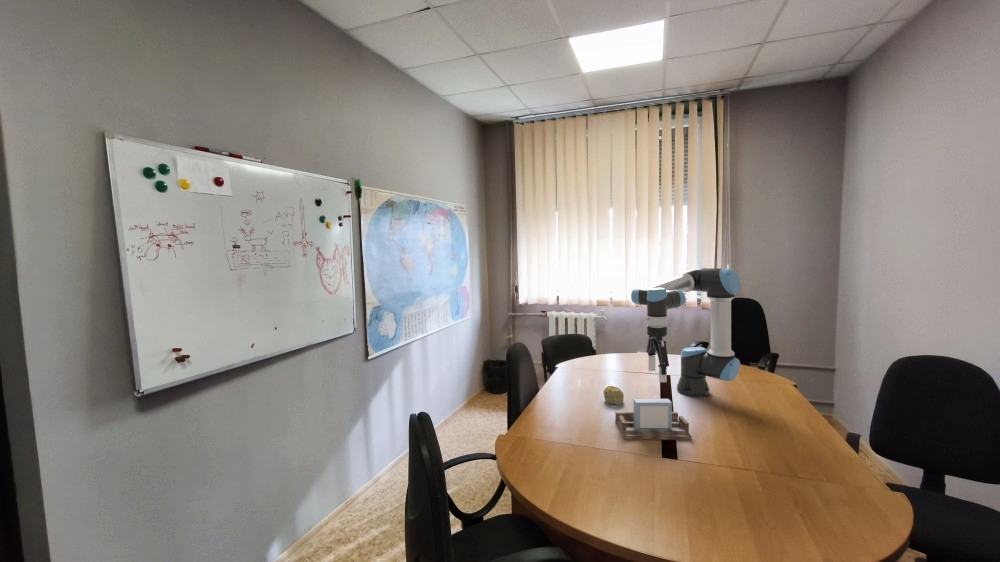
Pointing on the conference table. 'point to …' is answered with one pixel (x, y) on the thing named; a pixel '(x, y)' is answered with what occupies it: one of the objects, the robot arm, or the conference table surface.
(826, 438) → the conference table surface
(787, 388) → the conference table surface
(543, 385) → the conference table surface
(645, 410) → the door panel
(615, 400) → the decorative item
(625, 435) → the base
